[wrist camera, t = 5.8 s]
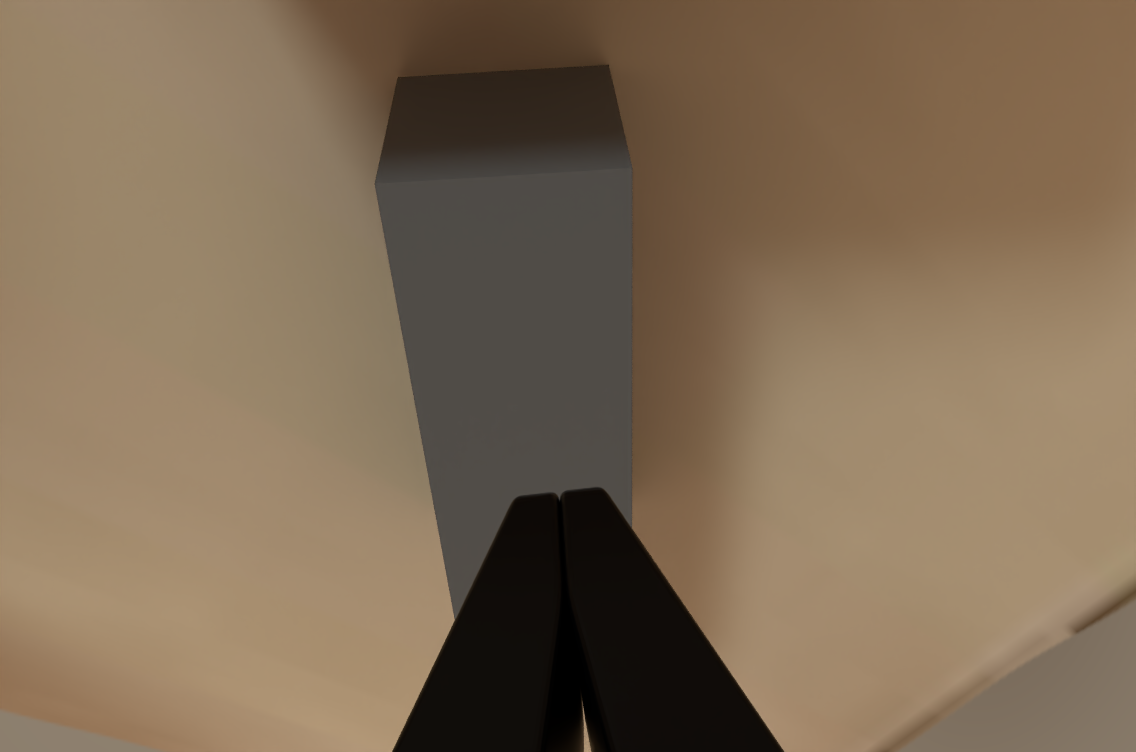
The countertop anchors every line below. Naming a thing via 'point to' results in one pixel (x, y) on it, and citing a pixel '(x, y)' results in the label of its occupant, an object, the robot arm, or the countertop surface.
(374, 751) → the countertop surface
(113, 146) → the countertop surface
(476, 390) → the grey rectangular bar
